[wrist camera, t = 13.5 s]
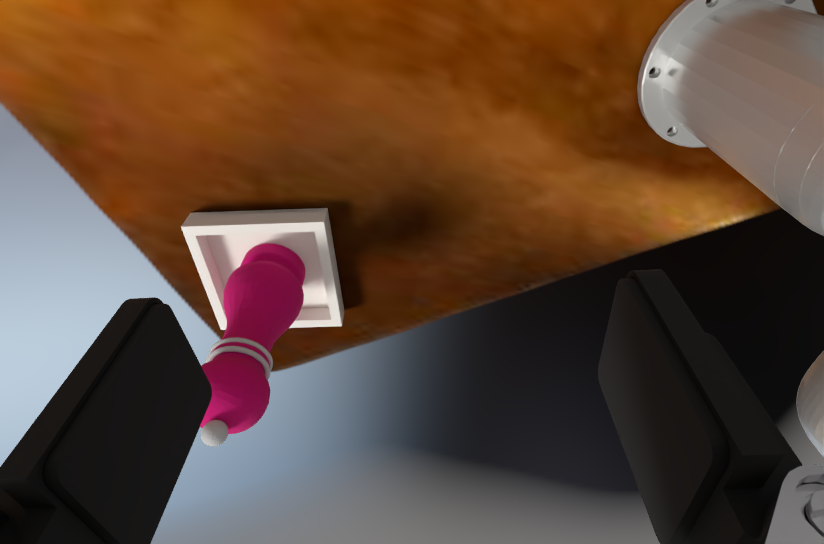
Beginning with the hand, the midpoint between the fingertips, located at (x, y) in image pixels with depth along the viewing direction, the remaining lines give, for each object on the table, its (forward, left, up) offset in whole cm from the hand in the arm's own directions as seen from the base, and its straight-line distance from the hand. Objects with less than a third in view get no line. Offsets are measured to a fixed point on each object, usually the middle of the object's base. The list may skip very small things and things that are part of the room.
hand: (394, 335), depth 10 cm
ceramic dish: (+14, +22, -32) cm, 41 cm away
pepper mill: (+14, +22, -32) cm, 41 cm away
